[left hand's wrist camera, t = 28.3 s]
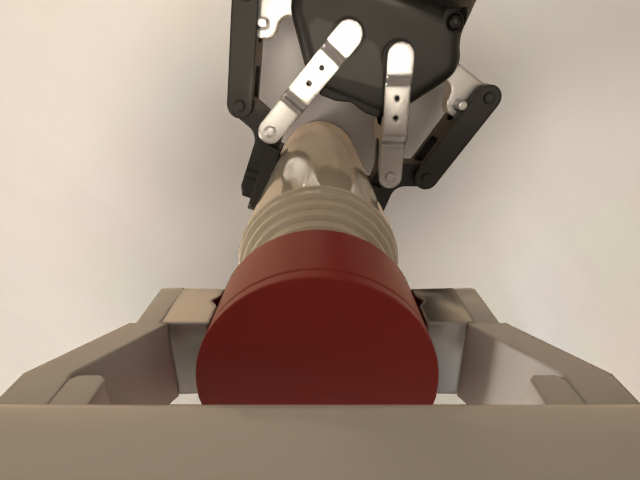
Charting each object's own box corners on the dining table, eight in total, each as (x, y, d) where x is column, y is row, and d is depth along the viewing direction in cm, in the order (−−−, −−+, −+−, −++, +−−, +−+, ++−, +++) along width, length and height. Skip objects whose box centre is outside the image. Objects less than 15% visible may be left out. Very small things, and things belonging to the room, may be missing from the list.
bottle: (299, 109, 28) (241, 210, 7) (366, 138, 28) (483, 303, 8) (273, 177, 29) (169, 410, 9) (337, 203, 30) (374, 472, 10)
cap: (182, 302, 10) (143, 367, 8) (337, 187, 9) (343, 225, 7) (302, 420, 11) (298, 504, 9) (449, 332, 10) (484, 403, 8)
